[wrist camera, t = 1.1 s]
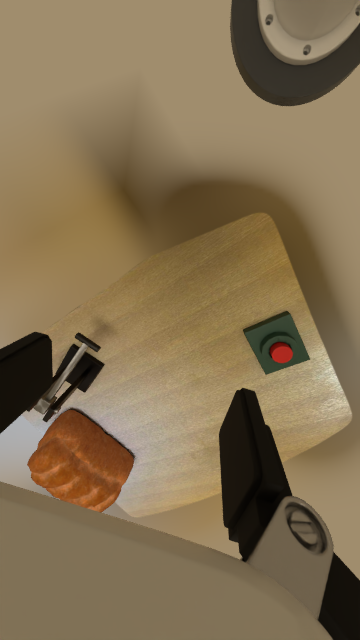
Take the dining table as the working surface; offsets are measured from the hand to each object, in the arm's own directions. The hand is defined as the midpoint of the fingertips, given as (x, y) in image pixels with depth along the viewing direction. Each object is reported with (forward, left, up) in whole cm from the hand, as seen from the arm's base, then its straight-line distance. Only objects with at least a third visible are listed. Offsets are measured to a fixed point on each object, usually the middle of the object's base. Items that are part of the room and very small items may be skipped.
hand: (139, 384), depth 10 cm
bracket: (+25, -28, -32) cm, 49 cm away
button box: (+13, +18, -32) cm, 38 cm away
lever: (+19, -24, -23) cm, 38 cm away
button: (+13, +18, -29) cm, 36 cm away
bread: (+52, -28, -32) cm, 67 cm away
